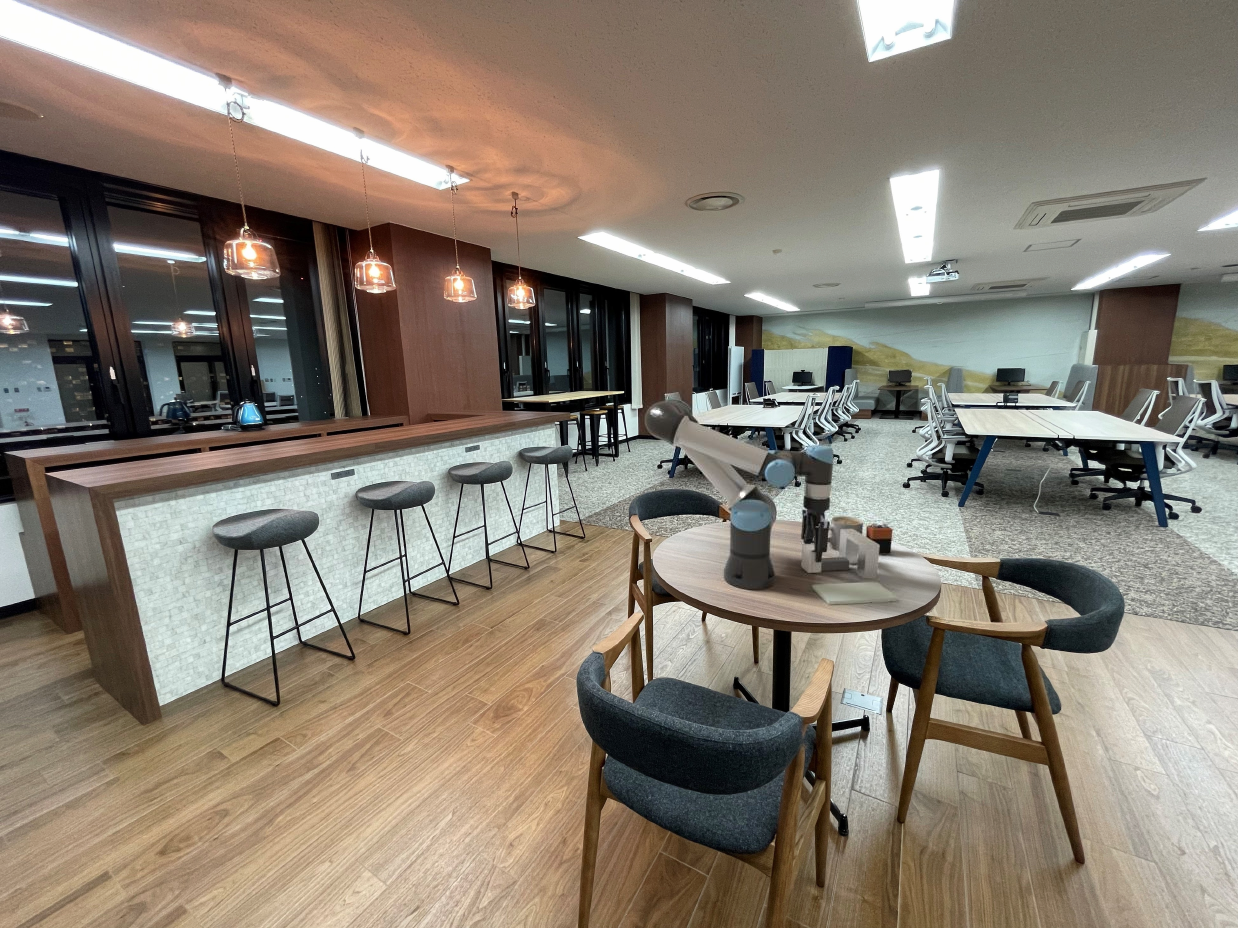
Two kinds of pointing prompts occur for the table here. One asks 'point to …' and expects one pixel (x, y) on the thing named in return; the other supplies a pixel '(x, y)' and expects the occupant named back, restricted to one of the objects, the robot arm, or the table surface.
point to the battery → (880, 536)
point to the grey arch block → (859, 552)
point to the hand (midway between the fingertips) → (811, 567)
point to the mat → (854, 593)
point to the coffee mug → (842, 523)
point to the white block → (826, 564)
